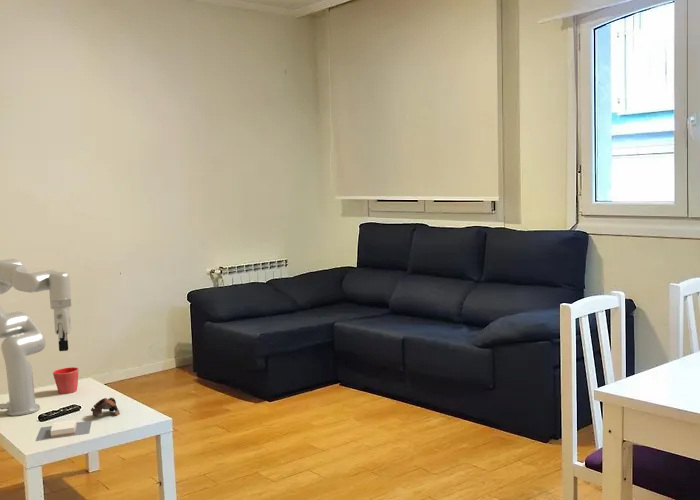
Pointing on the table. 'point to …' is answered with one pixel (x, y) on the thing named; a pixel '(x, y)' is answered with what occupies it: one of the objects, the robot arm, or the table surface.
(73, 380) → the flower pot
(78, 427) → the mat
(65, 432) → the tile
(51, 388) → the table surface
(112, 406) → the broken clay vessel
